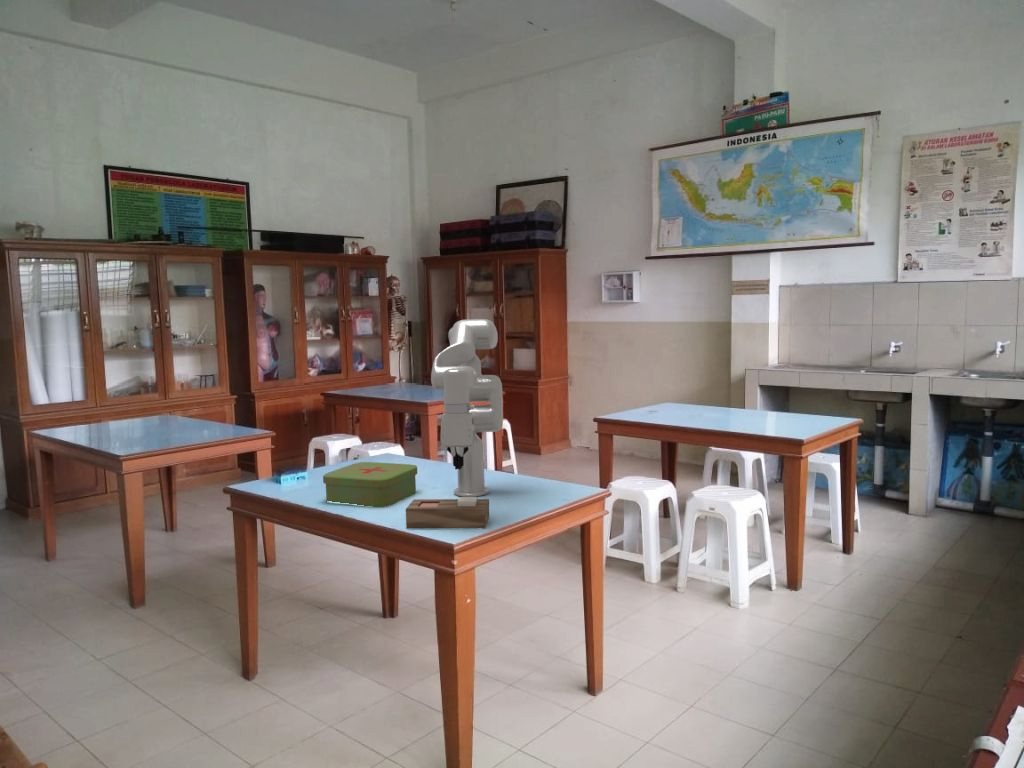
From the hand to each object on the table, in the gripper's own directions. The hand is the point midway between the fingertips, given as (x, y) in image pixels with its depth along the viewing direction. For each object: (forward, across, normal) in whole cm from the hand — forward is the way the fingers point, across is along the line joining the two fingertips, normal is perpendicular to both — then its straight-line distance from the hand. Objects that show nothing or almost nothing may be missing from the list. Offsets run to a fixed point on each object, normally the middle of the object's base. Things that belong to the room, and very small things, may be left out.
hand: (458, 468), depth 232 cm
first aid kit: (+18, +38, -33) cm, 53 cm away
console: (+17, +4, 0) cm, 17 cm away
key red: (+16, +10, 0) cm, 19 cm away
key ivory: (+14, -2, 0) cm, 14 cm away
